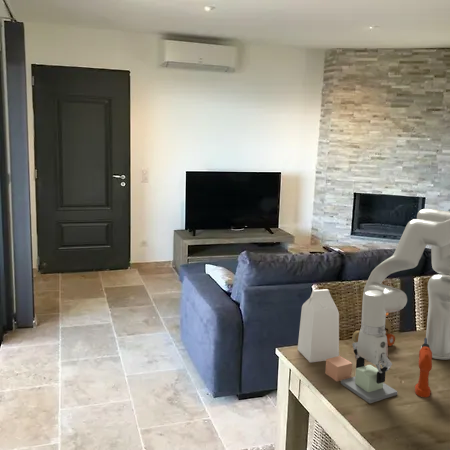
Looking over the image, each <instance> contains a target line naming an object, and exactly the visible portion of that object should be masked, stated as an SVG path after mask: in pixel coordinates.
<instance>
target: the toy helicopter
mask: <svg viewBox="0 0 450 450" xmlns="http://www.w3.org/2000/svg"><path fill="white" fill-rule="evenodd" d="M389 313H390V312H387V313H386V317H387V316H389ZM385 331H386V334H385V335H386V336H387V343H388V347H391V346H393V345H394V344H395V342H396V336H395V334H392V333H391V331H392V323H391V321H390V320H389V319H387V318H386V319H385ZM359 332H360V330H356V331H354V332H353V333H352V337H351V339H352V341H353V343H356V342H358V337H359Z"/></svg>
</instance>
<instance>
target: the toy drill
mask: <svg viewBox="0 0 450 450" xmlns="http://www.w3.org/2000/svg"><path fill="white" fill-rule="evenodd" d="M421 346H422V348H421V347H420V349H419V352H418V357H419V358H418V369H419V377H418V382H417V383H416V384H415V385H414V393H415V394H416V395H417V397H421V398H429V397H430V396H431V391H432V390H431V387H430V386H429V376H430V371H432V369H433V361H432V360H433V358H432V351H431V349H430V347H429V345H428V344H427V338H426V337H424V340H423V343H422V345H421Z"/></svg>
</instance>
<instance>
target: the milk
mask: <svg viewBox="0 0 450 450" xmlns="http://www.w3.org/2000/svg"><path fill="white" fill-rule="evenodd" d="M299 320H300V322H299V333H298V343H297V351H298V352H299V353H300V354H301V355H302V356H303V357H304V358H305V359H306V360H307V361H308V362H309V363H317V362H326V359H329V358H333V357H337V356H340V346H339V345H340V313H339V310H338V307H337V305H336V304H335V301H334V299H333V297H332V295H331V292H330V290H329V289H328V288H325V289H324V288H323V289H315V290H314V289H313V290H312V291H311V294H310V297H308V299H307V300H305V302H303V304H302V306H301V312H300V319H299Z"/></svg>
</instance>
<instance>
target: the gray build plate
mask: <svg viewBox="0 0 450 450" xmlns="http://www.w3.org/2000/svg"><path fill="white" fill-rule="evenodd" d="M340 384H341V385H342V386H343V387H345V388H347V389H348V390H349V391H351V392H353V394H355V395H357V396H358V397H360V399H363V400H364V401H365V402H367V403H368V404H372V403H376V402H380V401H382V400H384V399H388V398H391V397H395V396H397V395H398V391H397V390H396V389H394V388H393V387H391V386H390V385H388V384H387V383H385V382H383V388H381V389H378V390H375V391H371V392H367V391H365V390H364V389H362V388H361V387H359V386H358V385H356V384H355V376H351V378H348V379H344V380H341V381H340Z"/></svg>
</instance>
